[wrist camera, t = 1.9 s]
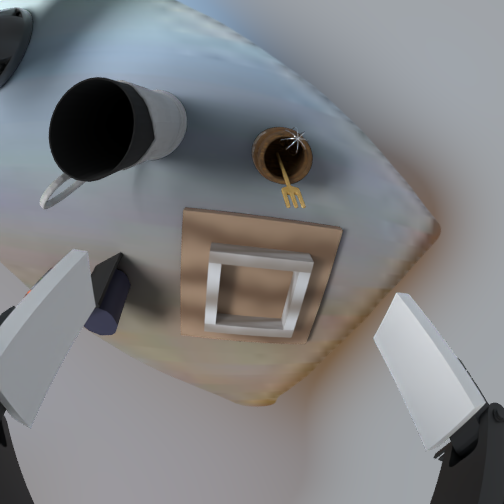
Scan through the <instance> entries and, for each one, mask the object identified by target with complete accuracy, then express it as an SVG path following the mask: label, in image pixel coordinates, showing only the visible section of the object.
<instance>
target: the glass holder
mask: <svg viewBox="0 0 504 504" xmlns="http://www.w3.org/2000/svg"><path fill="white" fill-rule="evenodd" d="M186 128H187V116H186V111H185V109H184V107H183V105H182V103H181V102H180V100H179V99H177V98H176V97H175V96H174V95H172V94H171V93H169V92H166V91H162V90H150V89H147V88H144V87H141V86H138V85H135V84H132V83H129V82H126V81H123V80H117V81H115V80H111V79H107V78H100V77H96V78H89V79H86V80H83V81H81V82H79V83H77V84H76V85H74V86H73V87H72V88H70V89H69V90H68V91H67V92H66V93H65V94H64V95H63V96H62V98H61V99H60V101H59V102H58V104H57V106H56V108H55V110H54V112H53V115H52V118H51V122H50V127H49V144H50V149H51V153H52V155H53V158H54V160H55V162H56V163H57V165H58V167H59V168H60V169H61V170H62V171H63V172H64V173H63V174H62V175H61V176H59V177H58V178H57V179H56V180H54V181H53V182H52V183H51V184H50V185H49V187H48V188H47V189H46V190H45V192H44V193H43V195H42V197H41V199H40V205H41V207H42V208H43V209H48V208H50V207H52V206H54V205H55V204H57V203H58V202H60V201H61V200H63V199H64V198H66V197H67V196H68V195H70V194H71V193H72V192H73V191H75V190H76V189H77V188H78V187H80V186H81V185H82V184H83V183H85V182H86V181H87V182H91V181H96V180H99V179H102V178H104V177H107V176H109V175H111V174H113V173H115V172H117V171H120V170H125V169H128V168H131V167H133V166H135V165H138V164H140V163H142V162H144V161H147V160H157V159H160V158H163V157H165V156H167V155H169V154H170V153H172V152H173V151H174V150H175V149H176V148H177V147H178V146H179V144H180V143H181V142H182V140H183V138H184V135H185V132H186ZM70 178H73V179H75V180H77V181H76V182H75V183H73V184H72V185H71V186H70V187H68V188H67V189H66V190H64V191H63V192H61V193H60V194H59V195H57V196H55V197H54V198H52V199H50V200H49V201H47V200H48V199H49V197H50V196H51V195H52V193H53V192H54V191H55V190H56V189H57V188H58V187H59V186H60V185H61V184H63V183H64V182H65V181H67V180H68V179H70Z"/></svg>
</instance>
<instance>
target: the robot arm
mask: <svg viewBox="0 0 504 504" xmlns="http://www.w3.org/2000/svg"><path fill="white" fill-rule="evenodd" d="M32 27H33V19H32V15H31V13H30V12H29V11H27V10H25V9H22V8H9V9H3V10H0V87H1V86H3V85H4V84H5V83H6V82H7V80H8V79H9V78H10V77H11V76H12V74H13V73H14V71H15V70H16V68H17V67H18V65H19V63H20V61H21V59H22V58H23V55H24V53H25V51H26V49H27V46H28V44H29V41H30V37H31V33H32ZM95 307H96V305H95V299H94V293H93V287H92V280H91V273H90V265H89V256H88V251H83V250H77V249H72V250H71V251H70V252H69V253H68V254H67V255H66V256H65V257H64V258H63V259H62V260H61V261H60V262H59V263H57V264H56V265H55V266H54V267H53V268H52V269H51V270H50V271H49V272H48V273H47V274H46V275H45V276H44V277H43V278H42V279H41V280H40V282H39V283H38V284H37V285H36V286H35V287H34V288H33V289H32V290H31V291H30V292H29V293H28V294H27V295H26V297H25V298H24V299H23V300H22V301H21V302H20V303H19V304H18V306H17V307H15V306H13V307H11V308H9V309H8V310H6V311H5V312H3V313H2V314H1V315H0V504H34V502H33V500H32V498H31V495H30V493H29V491H28V489H27V486H26V483H25V481H24V478H23V475H22V473H21V470H20V467H19V464H18V461H17V458H16V455H15V451H14V448H13V445H12V440H11V437H10V433H9V429H8V424H7V421H6V418H5V416H4V413H5V411H6V410H7V411H8V413H9V414H10V415H11V416H12V417H13V418H14V419H15V420H17V421H18V422H20V423H22V424H23V425H26V426H27V427H29V428H31V427H32V424H33V422H34V420H35V417H36V415H37V413H38V411H39V408H40V406H41V404H42V402H43V400H44V398H45V396H46V393H47V392H48V389H49V387H50V385H51V383H52V382H53V380H54V378H55V376H56V374H57V372H58V370H59V368H60V366H61V364H62V362H63V361H64V359H65V357H66V355H67V353H68V351H69V350H70V348H71V346H72V344H73V343H74V341H75V339H76V338H77V336H78V334H79V333H80V331H81V329H82V328H83V326H84V324H85V323H86V321H87V320H88V318H89V316H90V315H91V313H92V312H93V310H94V308H95ZM373 339H374V341H375V343H376V345H377V347H378V349H379V351H380V353H381V355H382V357H383V359H384V361H385V362H386V364H387V367H388V369H389V370H390V373H391V375H392V377H393V379H394V381H395V383H396V385H397V387H398V389H399V391H400V393H401V396H402V398H403V400H404V402H405V404H406V406H407V408H408V411H409V413H410V415H411V417H412V420H413V422H414V424H415V426H416V429H417V431H418V434H419V436H420V438H421V441H422V443H423V446H424V448H425V450H426V451H428V450H430V449H433V448H435V447H438V446H440V445H441V444H442V443H443V442H445V441H446V440H447V439H448V438H450V440H451V442H450V443H448V444H447V445H446V446H445V447H443V448H442V449H441V450H440V451H438V452H437V453H436V454H435V456H434V458H437V457H438V456H440V455H441V454H442V453H444V452H445V453H444V454H443V455H442V456H441V457H440V458H439V460H440V461H443V462H442V466H441V470H440V474H439V477H438V481H437V484H436V487H435V491H434V494H433V497H432V500H431V503H430V504H504V408H503V407H502V406H501V405H500V404H498V403H491V404H490V405H489V404H488V403H487V401H486V399H485V398H484V396H483V395H482V393H481V391H480V389H479V388H478V386H477V385H476V383H475V382H474V380H473V378H471V375H470V374H469V372H468V371H466V368H465V366H464V365H463V363H462V362H461V361H460V360H459V359H458V358H457V357H456V355H455V354H454V352H453V351H452V350H451V348H450V347H449V346H448V344H447V343H446V341H445V340H444V338H443V337H442V336H441V334H440V333H439V332H438V330H437V329H436V328H435V326H434V325H433V324H432V322H431V321H430V320H429V319H428V317H427V316H426V315H425V313H424V312H423V311H422V310H421V308H420V307H419V306H418V305H417V304H416V302H415V301H414V300H413V299H412V297H411V296H410V295H409V294H407V293H396V294H395V297H394V299H393V301H392V303H391V305H390V307H389V309H388V311H387V313H386V315H385V317H384V319H383V321H382V323H381V324H380V326H379V328H378V330H377V332H376V334H375V336H374V338H373Z"/></svg>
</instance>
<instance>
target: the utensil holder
mask: <svg viewBox="0 0 504 504" xmlns="http://www.w3.org/2000/svg"><path fill="white" fill-rule="evenodd" d="M294 128H296V127H294ZM294 128H293V129H294ZM296 129H297V128H296ZM304 132H305V131H304ZM304 132H303V134H304ZM301 134H302V133H301ZM301 134H299V133H298V131H297V132H296V131H294V130H292V129H289V128H284V127H274V128H269V129H267V130H265V131H263V132H262V133H260V134H259V135H258V136H257V138H256V139H255V141H254V143H253V146H252V159H253V162H254V164H255V167H256V168H257V170H258V171H259V173H260V174H261V175H262V176H263V177H265V178H266V179H268V180H270V181H272V182H276V183H279V184H286V185H287V187H283V188H282V194H283V197H284V201H285V204H286V207H287V208H290V203H289V200H288V196H287V195H290V197H291V199H292V202H293V205H294V207H295V208H298V205H297V202H296V199H295V196H294V195H297V196H298V199H299V201H300V204H301V206H302V208H305V207H306V206H305V203H304V201H303V198H302V195H301V193H300V190H299V188H296V187H293V186H291V185H290V184H293V183H296V182H298V181H300V180H301V179H303V178H304V177H305V176H306V175H307V174H308V172H309V170H310V168H311V166H312V160H313V156H312V151H311V148H310V146H309V144H308V143H307V142H308V141H309V140H308V141H306V140H307V139H304V138H303V137H302V135H303V134H302V135H301Z"/></svg>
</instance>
